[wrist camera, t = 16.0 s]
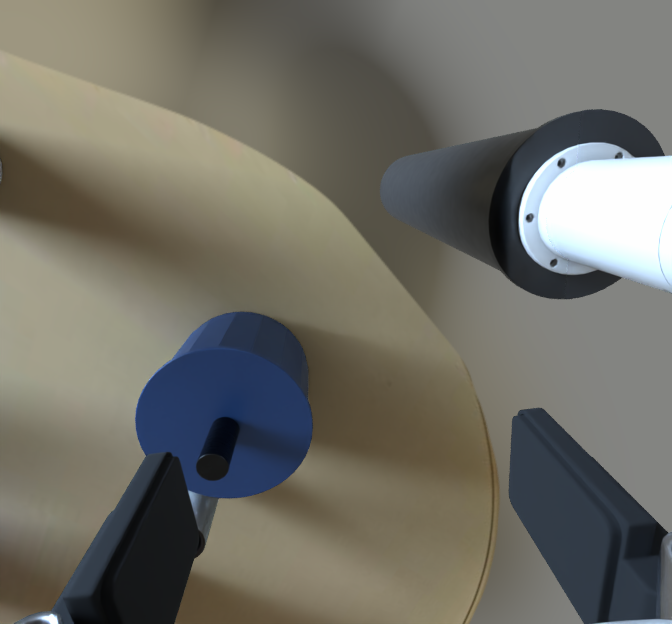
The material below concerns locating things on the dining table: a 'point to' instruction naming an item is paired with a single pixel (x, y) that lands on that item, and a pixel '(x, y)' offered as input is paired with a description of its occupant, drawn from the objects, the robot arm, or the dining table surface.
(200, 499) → the grey cylinder tube
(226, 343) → the pot
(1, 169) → the coffee cup
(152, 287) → the dining table surface
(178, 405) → the pot lid
